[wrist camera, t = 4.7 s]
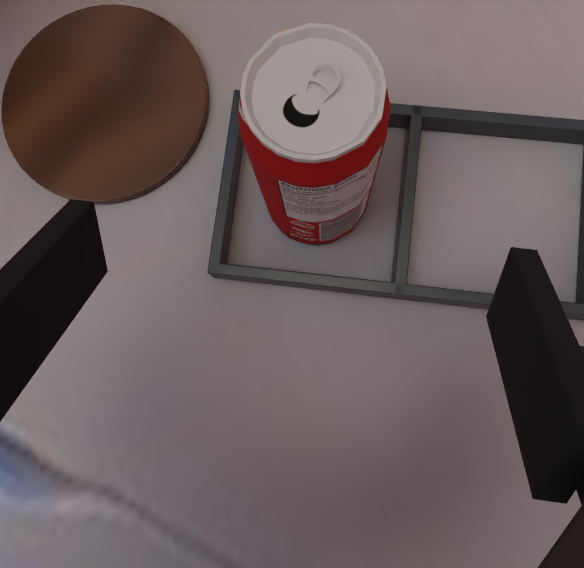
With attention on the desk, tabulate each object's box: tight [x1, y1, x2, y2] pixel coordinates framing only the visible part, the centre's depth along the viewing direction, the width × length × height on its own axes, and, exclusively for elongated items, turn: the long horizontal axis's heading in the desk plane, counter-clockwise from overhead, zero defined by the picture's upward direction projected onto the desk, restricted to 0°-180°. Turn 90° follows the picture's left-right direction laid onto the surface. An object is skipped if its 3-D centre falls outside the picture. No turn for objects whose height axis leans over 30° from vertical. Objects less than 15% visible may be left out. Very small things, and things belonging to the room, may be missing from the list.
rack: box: [208, 90, 584, 320], centre depth 28 cm, size 20×10×2 cm, turn 83°
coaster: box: [2, 5, 209, 204], centre depth 30 cm, size 12×12×1 cm
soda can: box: [238, 23, 391, 245], centre depth 23 cm, size 6×6×12 cm
